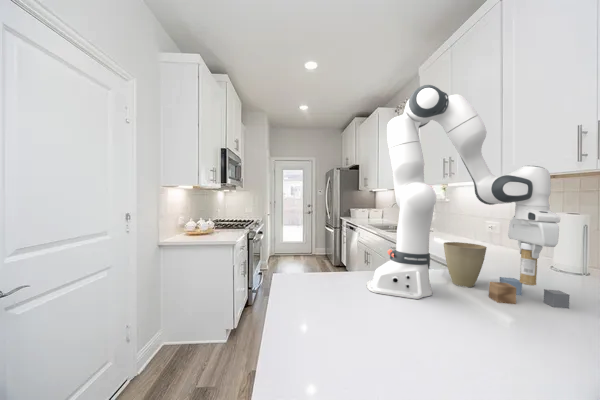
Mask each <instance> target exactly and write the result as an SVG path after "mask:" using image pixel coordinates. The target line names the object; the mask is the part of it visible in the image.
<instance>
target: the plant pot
mask: <svg viewBox="0 0 600 400" xmlns="http://www.w3.org/2000/svg"><path fill="white" fill-rule="evenodd" d="M443 249H444V257H445V263H446V266H447V270H448V273H449V276H450V280H451V282H452V284H453V285H456V286H458V287H463V288H473V287H475V285H476V282H477V280H478V278H479V276H480V274H481V270H482V268H483V264H484V261H485V257H486V252H487V246H485V245H482V244H476V243H470V242H469V243H468V242H459V241H457V242H456V241H447V242H443Z"/></svg>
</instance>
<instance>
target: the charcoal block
mask: <svg viewBox="0 0 600 400" xmlns="http://www.w3.org/2000/svg"><path fill="white" fill-rule="evenodd" d="M570 295H571V294H570V293H569V294H568V293H567V292H564V291H563V290H559V289H558V290H555V289H547V288H544V289H543V303H544V304H546V305H548V306H550V307H552V308H557V309H570Z"/></svg>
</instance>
